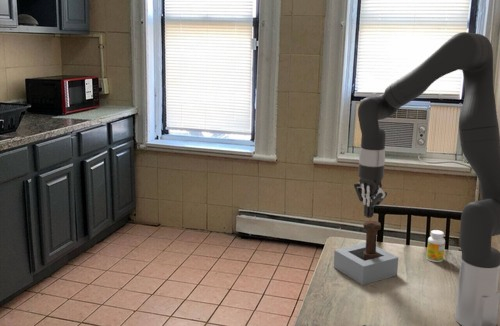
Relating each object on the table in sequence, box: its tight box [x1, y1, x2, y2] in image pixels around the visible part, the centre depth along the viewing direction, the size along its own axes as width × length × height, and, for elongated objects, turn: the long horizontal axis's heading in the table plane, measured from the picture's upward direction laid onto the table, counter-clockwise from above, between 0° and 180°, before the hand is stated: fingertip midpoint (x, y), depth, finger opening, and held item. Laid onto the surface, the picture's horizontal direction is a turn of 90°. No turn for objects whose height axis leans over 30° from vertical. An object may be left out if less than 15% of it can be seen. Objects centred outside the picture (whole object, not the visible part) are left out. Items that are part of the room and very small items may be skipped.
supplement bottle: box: [426, 229, 446, 263], centre depth 176 cm, size 5×5×10 cm
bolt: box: [362, 220, 382, 261], centre depth 164 cm, size 6×5×15 cm
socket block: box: [333, 242, 399, 286], centre depth 167 cm, size 14×14×6 cm
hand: (368, 216), depth 163 cm, fingers closed
